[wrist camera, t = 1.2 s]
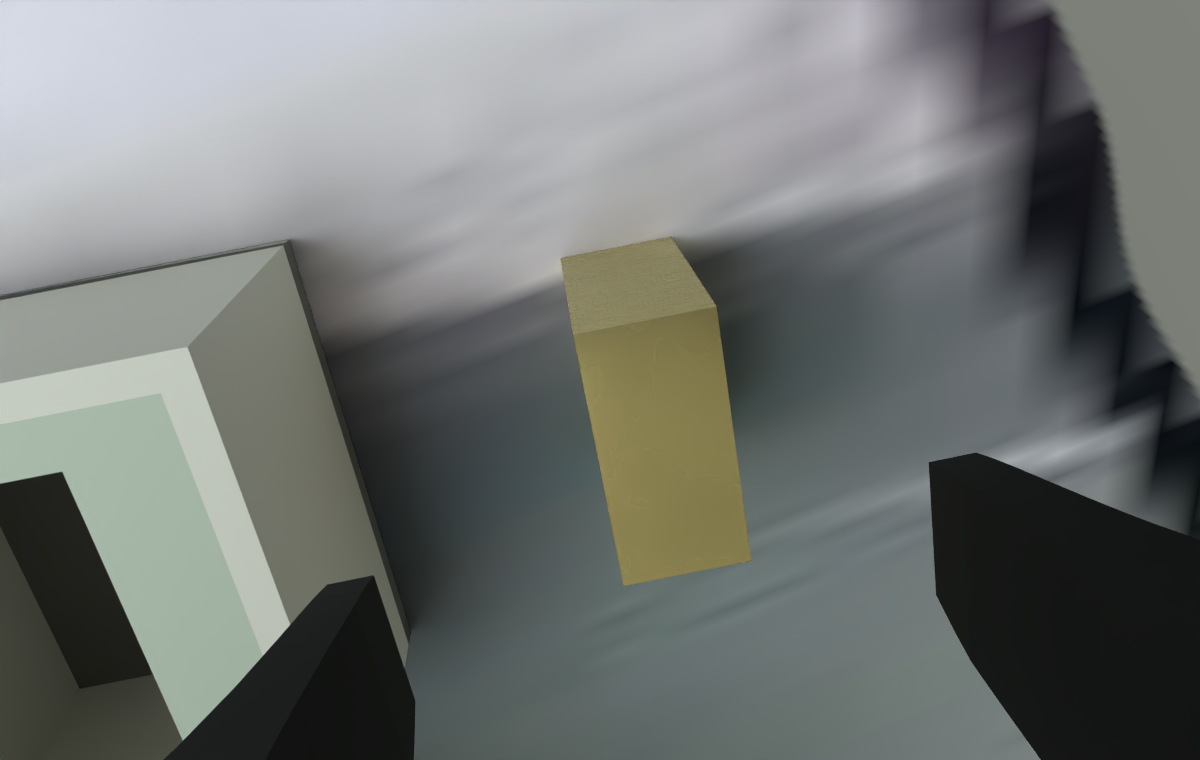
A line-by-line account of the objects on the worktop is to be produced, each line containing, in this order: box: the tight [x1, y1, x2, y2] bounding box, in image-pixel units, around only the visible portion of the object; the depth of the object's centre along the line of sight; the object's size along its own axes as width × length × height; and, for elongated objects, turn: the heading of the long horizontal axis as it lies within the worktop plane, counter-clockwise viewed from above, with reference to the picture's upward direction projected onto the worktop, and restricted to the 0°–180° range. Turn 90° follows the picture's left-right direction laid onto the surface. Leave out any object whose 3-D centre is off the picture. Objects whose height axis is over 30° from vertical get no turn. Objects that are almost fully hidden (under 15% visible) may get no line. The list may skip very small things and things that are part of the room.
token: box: [560, 237, 751, 586], centre depth 19 cm, size 5×2×5 cm, turn 10°
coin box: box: [0, 240, 411, 760], centre depth 18 cm, size 10×8×6 cm
